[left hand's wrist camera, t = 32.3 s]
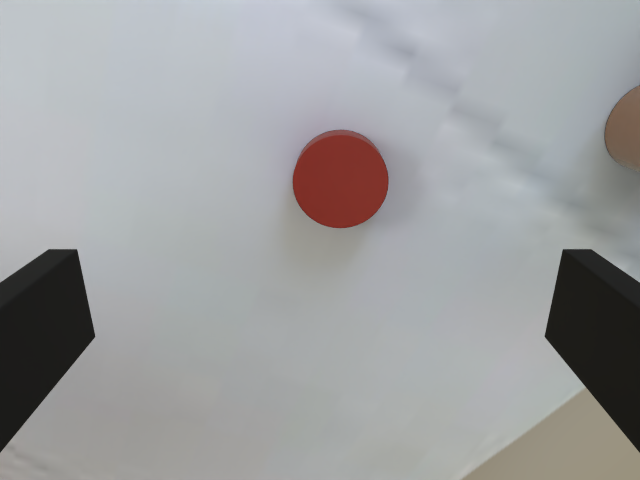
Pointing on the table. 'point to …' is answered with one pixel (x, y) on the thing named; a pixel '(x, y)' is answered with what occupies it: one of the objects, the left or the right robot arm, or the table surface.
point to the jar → (625, 131)
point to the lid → (340, 179)
